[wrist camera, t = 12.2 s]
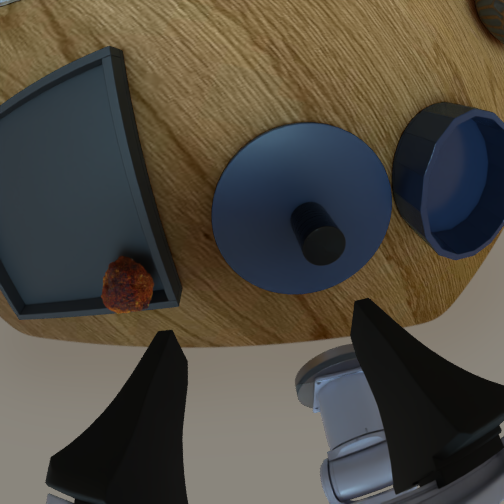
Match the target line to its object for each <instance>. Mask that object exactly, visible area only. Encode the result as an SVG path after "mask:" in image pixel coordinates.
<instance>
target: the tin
mask: <svg viewBox="0 0 504 504" xmlns="http://www.w3.org/2000/svg"><path fill="white" fill-rule="evenodd" d="M392 186H393V194H394V198H395V202H396V205H397V208H398V210H399V212H400V214H401V217H402V218H403V219H404V220H405V222H406V223H407V224H408V225H409V226H410V227H411V228H412V229H413V231H414V232H415V233H416V234H417V235H419V236H420V237H421V238H422V239H423V240H424V241H425V242H426V243H427V244H428V245H429V246H430V247H431V248H432V249H433V250H434V251H435V252H436V253H437V254H438V255H440V256H444V257H447V258H450V259H453V260H458V259H462V258H466V257H470V256H473V255H475V254H477V253H478V252H479V251H481V250H482V249H483V248H485V247H486V246H487V245H489V244H490V243H491V242H492V241H493V239H494V238H495V237H496V235H497V234H498V233H499V231H500V230H501V229H502V227H503V226H504V122H503V121H502V120H501V119H500V118H499V117H498V116H497V115H496V114H495V113H493V112H490V111H486V110H482V109H478V108H474V107H469V106H465V105H459V104H453V103H447V102H441V103H437V104H434V105H431V106H429V107H427V108H425V109H423V110H422V111H421V112H419V113H418V114H417V115H416V116H415V117H414V118H413V119H412V120H411V122H410V123H409V124H408V126H407V127H406V129H405V131H404V132H403V134H402V136H401V138H400V141H399V143H398V146H397V149H396V153H395V157H394V162H393V171H392Z"/></svg>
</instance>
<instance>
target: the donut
mask: <svg viewBox="0 0 504 504" xmlns="http://www.w3.org/2000/svg"><path fill="white" fill-rule="evenodd" d="M15 1H18V0H0V6H3V5H6V4H9V3H12V2H15Z"/></svg>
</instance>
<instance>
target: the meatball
mask: <svg viewBox="0 0 504 504" xmlns="http://www.w3.org/2000/svg"><path fill="white" fill-rule="evenodd" d="M108 267H109V268H108V270H107V271H106V273H105V276H104V277H103V288H102V289H103V290H102V295H101V297H102V299H103V303H104V305H105V306H106V307H107V308H108V309H109V310H111V311H113V312H115V313H118V314H119V313H128V312H131V311H140V310H144V309H147V308H148V307H149V306H148V305H149V303H150V300H151V297H152V294H153V286H154V283H153V278H152V277H151V276H150V274H149V273H147V271H146V270H145V269H144V267H143V266H142V265H141V264H140V263H136V262H135V261H134V260H133V259H131V258H129V257H125V256H121V257H119V258H118V260H116V261H115V262H112V263H110V264H109V266H108Z"/></svg>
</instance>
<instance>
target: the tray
mask: <svg viewBox="0 0 504 504" xmlns="http://www.w3.org/2000/svg"><path fill="white" fill-rule="evenodd" d="M121 256H125V257H129V258H131V259H133V260H134V261H135V262H136V263H140V264H141V265H142V266H143V267H144V269H145V270H146V271H147V273H149V274H150V276H151V277H152V278H153V283H154V286H153V294H152V297H151V300H150V303H149V305H148V306H149V307H148V308H147V309H144V310H153V309H162V308H170V307H178V306H179V303H180V298H181V292H182V286H181V283H180V280H179V277H178V274H177V271H176V268H175V265H174V262H173V259H172V256H171V253H170V250H169V247H168V244H167V240H166V237H165V234H164V231H163V227H162V224H161V221H160V217H159V214H158V210H157V207H156V203H155V200H154V196H153V193H152V189H151V185H150V181H149V178H148V174H147V170H146V166H145V162H144V158H143V154H142V149H141V145H140V141H139V137H138V132H137V127H136V123H135V118H134V113H133V108H132V103H131V98H130V93H129V87H128V82H127V76H126V70H125V64H124V57H123V51H122V50H120V49H117V48H114V47H111V46H107V47H105V48H102V49H100V50H98V51H95V52H93V53H91V54H88V55H86V56H84V57H82V58H80V59H78V60H75V61H73V62H71V63H69V64H67V65H65V66H63V67H61V68H60V69H58V70H56V71H54V72H52V73H50V74H48V75H47V76H45V77H43V78H41V79H40V80H38V81H36V82H35V83H33V84H31V85H30V86H28V87H27V88H25V89H23V90H22V91H20V92H19V93H17V94H16V95H14V96H13V97H11V98H10V99H9V100H7V101H6V102H4V103H3V104H2V105H0V290H1V291H2V293H3V295H4V296H5V298H6V300H7V301H8V303H9V305H10V306H11V308H12V309H13V311H14V312H15V314H16V315H17V317H18V319H19V320H25V319H45V318H62V317H76V316H89V315H101V314H113V313H115V312H113V311H111V310H109V309H108V308H107V307H106V306H105V305H104V303H103V299H102V297H101V295H102V290H103V289H102V288H103V277H104V276H105V273H106V271H107V270H108V268H109V267H108V266H109V264H110V263H112V262H115V261H116V260H118V258H119V257H121ZM140 311H143V310H140ZM131 312H134V311H131Z"/></svg>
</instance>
